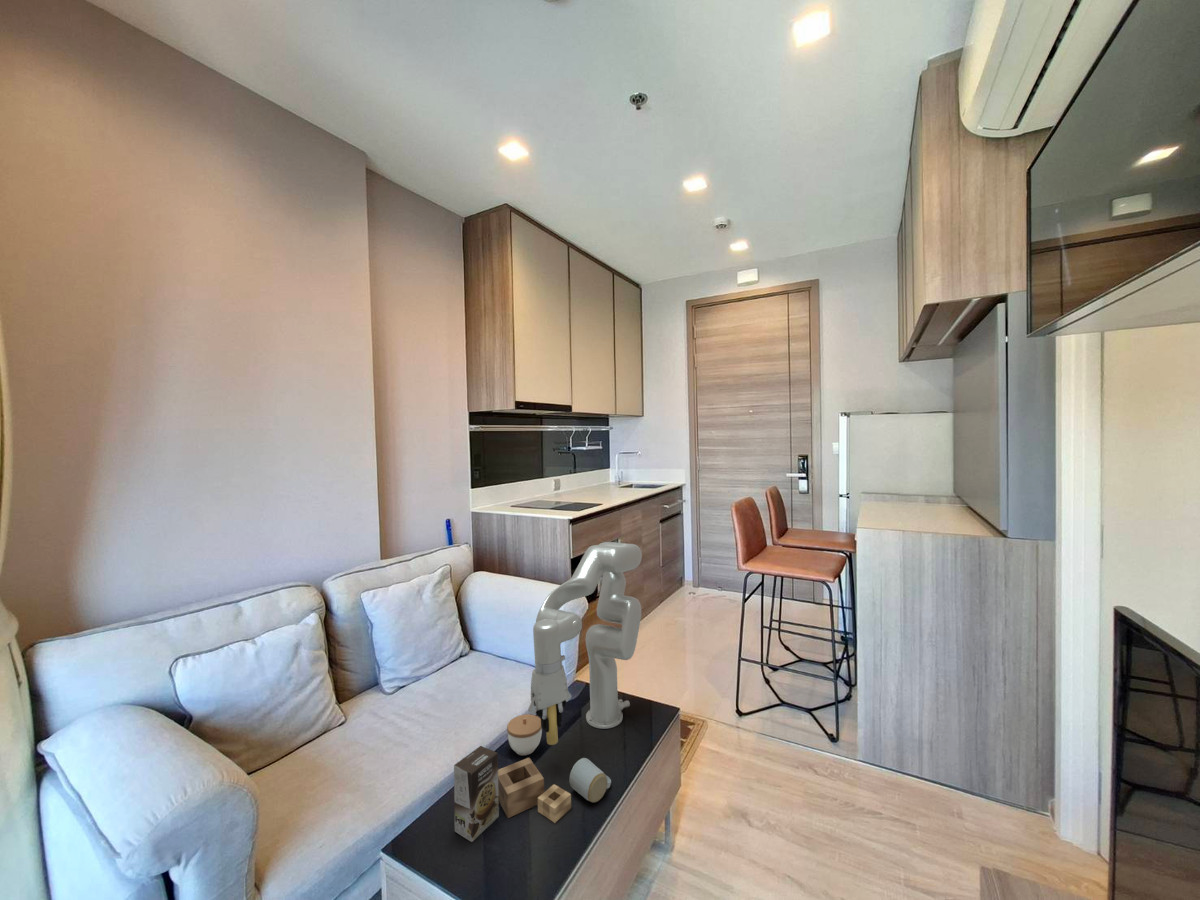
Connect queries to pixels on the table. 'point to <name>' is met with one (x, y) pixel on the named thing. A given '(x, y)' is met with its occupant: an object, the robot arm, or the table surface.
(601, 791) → the ceramic mug
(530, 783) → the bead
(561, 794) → the loose bead
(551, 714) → the tan cylindrical rod
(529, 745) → the lidded jar
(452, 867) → the table surface
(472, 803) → the coffee box
